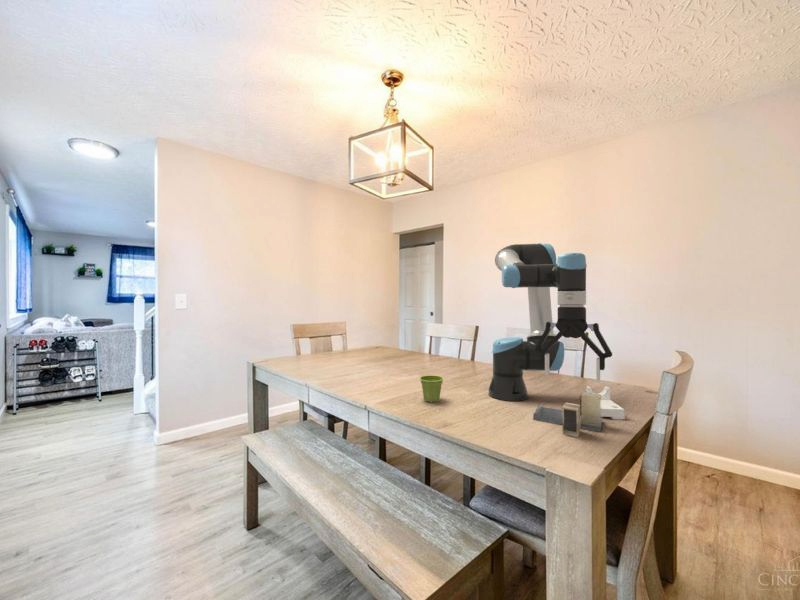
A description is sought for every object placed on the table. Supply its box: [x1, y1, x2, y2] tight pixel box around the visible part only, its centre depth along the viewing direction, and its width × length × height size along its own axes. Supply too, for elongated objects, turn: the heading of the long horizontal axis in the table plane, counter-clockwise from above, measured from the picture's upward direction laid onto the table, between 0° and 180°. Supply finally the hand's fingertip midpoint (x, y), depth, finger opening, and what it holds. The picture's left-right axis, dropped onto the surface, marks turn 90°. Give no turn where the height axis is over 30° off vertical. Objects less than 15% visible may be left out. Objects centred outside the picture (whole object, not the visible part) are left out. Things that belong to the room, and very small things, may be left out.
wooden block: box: [562, 402, 581, 438], centre depth 100 cm, size 5×4×8 cm
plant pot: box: [419, 374, 445, 402], centre depth 133 cm, size 9×9×9 cm
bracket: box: [585, 385, 626, 420], centre depth 117 cm, size 13×7×8 cm, turn 170°
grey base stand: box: [532, 391, 604, 433], centre depth 110 cm, size 19×10×10 cm, turn 55°
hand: (571, 378), depth 100 cm, fingers open, 13 cm apart
